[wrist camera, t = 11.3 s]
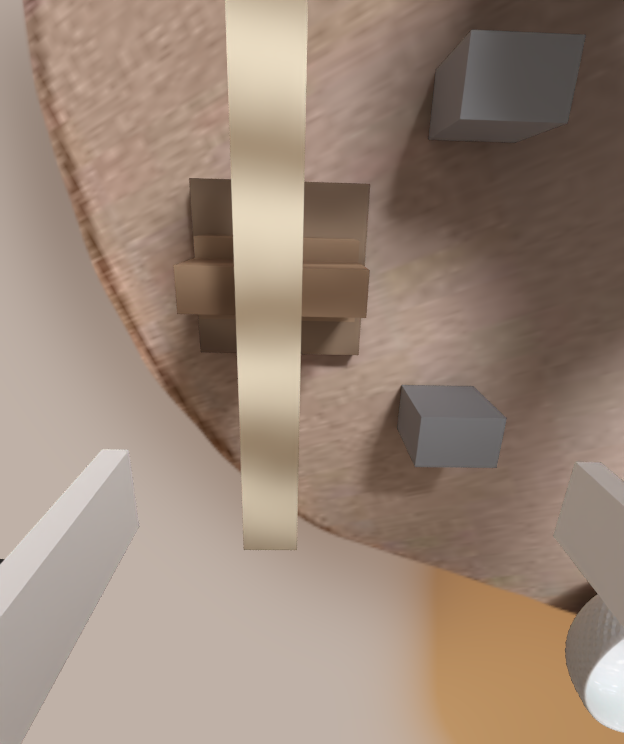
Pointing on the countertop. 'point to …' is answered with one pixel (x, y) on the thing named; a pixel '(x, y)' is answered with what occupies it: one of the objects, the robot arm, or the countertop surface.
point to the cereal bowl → (598, 662)
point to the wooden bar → (268, 254)
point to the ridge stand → (319, 271)
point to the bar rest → (486, 124)
